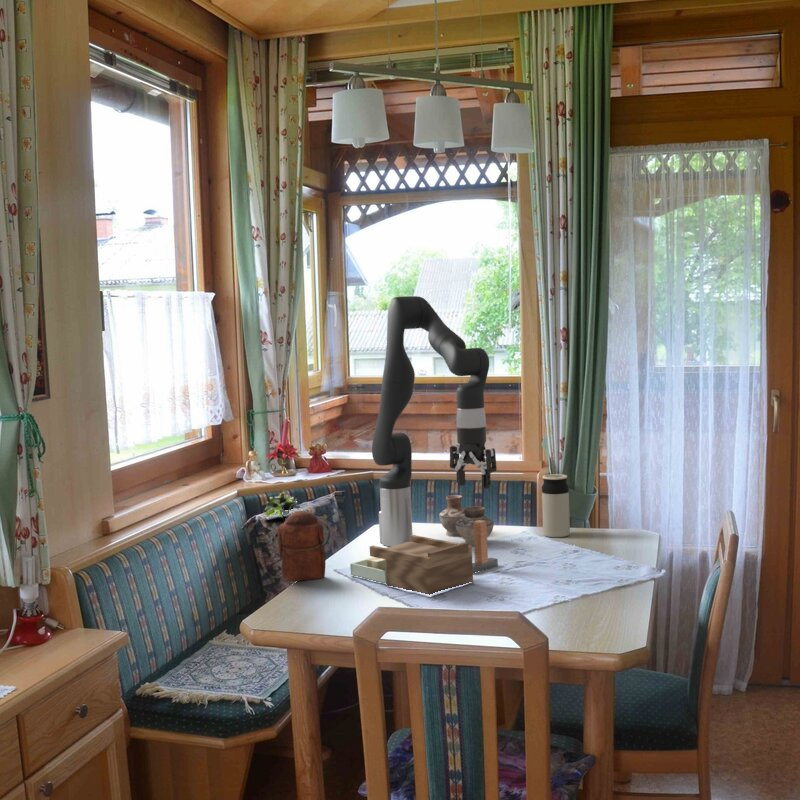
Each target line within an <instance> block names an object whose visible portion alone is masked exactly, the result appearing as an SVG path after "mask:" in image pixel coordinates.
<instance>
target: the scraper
mask: <svg viewBox="0 0 800 800" xmlns="http://www.w3.org/2000/svg"><path fill="white" fill-rule="evenodd" d="M473 524H474V546H473V547H474V562H472V564H473V573H475V572H478V571H481V572H483V571H482V570H484V571H487V570H490V569H494V568H496V567H498V566H499V561H498V558H495V557H488V537H487V526H486V521H483V520H477V521H474V522H473ZM486 569H487V570H486ZM478 573H479V572H478ZM475 574H476V573H475Z"/></svg>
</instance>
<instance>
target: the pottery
mask: <svg viewBox="0 0 800 800" xmlns="http://www.w3.org/2000/svg"><path fill="white" fill-rule="evenodd" d="M445 499H446V503H447V504H446V505H447V507H446V508H445V509H443V510H441V512H440V513H438V516H439V520H440V521H439V522H440V523H441V525H442V527H443V528H444V529H445V530H446V532H445V534H446V536H448V537H459V536H460V537H461V538H462V539H463V540H464V542H466V543H468V545H469V546H472V547H474V524H473V522H474V521H477V520H483V521H486V526H487V538H488V537H490V535H491V534H492V532H493V529H494V524H495V523H494V521H493V520H492V519H491V518H490V517H487V516H486V515H485V514H486V513H485V511H486V508H485V507H483V506H466V507H462V500H463V496H462V495H460V494H450V495H446V496H445Z"/></svg>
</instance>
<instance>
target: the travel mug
mask: <svg viewBox="0 0 800 800" xmlns="http://www.w3.org/2000/svg"><path fill="white" fill-rule="evenodd" d="M567 478H568V475H567V474H562V473H552V474H551V473H550V474H544V475H542V479H543V484H542V486H541V499H542V500H541V502H542V503H541V504H542V507H541V508H542V531H543V535H544V536H545V537H548V538H565V537H568V536H570V535H571V523H570V522H571V521H570V494H569V493H570V492H569V491H570V489H569V488H570V487H569V485H568V483H567Z"/></svg>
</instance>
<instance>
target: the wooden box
mask: <svg viewBox="0 0 800 800" xmlns="http://www.w3.org/2000/svg"><path fill="white" fill-rule="evenodd" d="M369 556H370V557H371V558H372V557H377V558H381V559H386V570H387V585H388V586H393V587H398V588H403V589H406V590H412V591H417V592H421V593H425V594H429V595H430V594H433V593H435V592H438V591H441V590H445V589H448V588H452V587H456V586H459V585H463V584H466V583H469V582H473V583H474V574H473V564H472V563H473V546H469V545H468V543H466V542H465V541H464V542H462V543H457V542H453V541H452V542H451V541H447V540H443V539H437V538H436V539H435V538H433V537H432V538H431V537H426V536H420V535H414V534H412V535H411V536H410V542H406V543H402V544H399V545H395V546H387V547H383V546H378V545H370V546H369ZM387 585H386V586H387Z"/></svg>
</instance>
